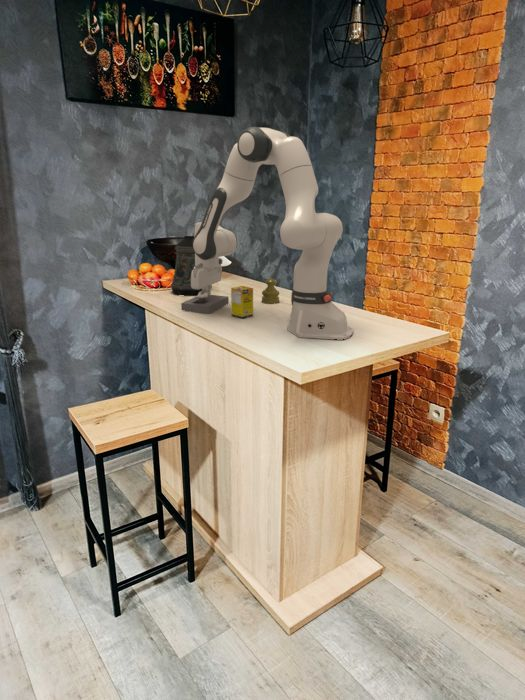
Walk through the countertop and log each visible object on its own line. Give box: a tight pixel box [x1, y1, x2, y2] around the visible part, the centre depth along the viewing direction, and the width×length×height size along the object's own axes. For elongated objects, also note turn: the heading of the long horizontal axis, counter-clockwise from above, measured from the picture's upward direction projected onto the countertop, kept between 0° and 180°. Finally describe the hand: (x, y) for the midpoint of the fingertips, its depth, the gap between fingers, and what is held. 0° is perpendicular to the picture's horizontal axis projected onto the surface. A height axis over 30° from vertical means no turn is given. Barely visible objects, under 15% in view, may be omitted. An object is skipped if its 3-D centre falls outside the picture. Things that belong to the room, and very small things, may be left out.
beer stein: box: [170, 235, 202, 297], centre depth 221 cm, size 16×19×25 cm
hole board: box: [180, 294, 229, 314], centre depth 198 cm, size 12×18×3 cm, turn 159°
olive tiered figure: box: [261, 277, 280, 305], centre depth 207 cm, size 7×7×10 cm
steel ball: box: [198, 291, 208, 301], centre depth 195 cm, size 4×4×4 cm
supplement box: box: [230, 285, 254, 320], centre depth 184 cm, size 6×6×11 cm
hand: (207, 296), depth 198 cm, fingers closed
